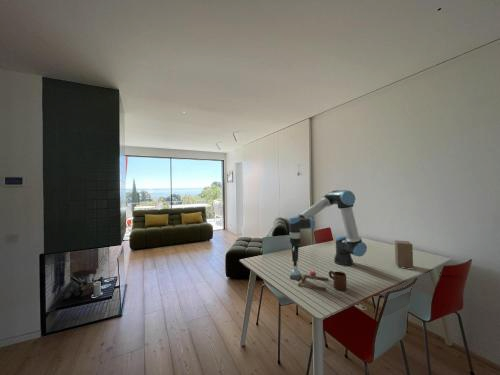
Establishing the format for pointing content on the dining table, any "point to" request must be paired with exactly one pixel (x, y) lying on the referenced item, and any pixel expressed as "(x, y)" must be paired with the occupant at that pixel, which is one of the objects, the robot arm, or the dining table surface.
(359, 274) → the dining table surface
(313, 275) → the die
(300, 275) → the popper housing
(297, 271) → the dome
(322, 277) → the bay
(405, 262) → the wooden block
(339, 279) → the mug
